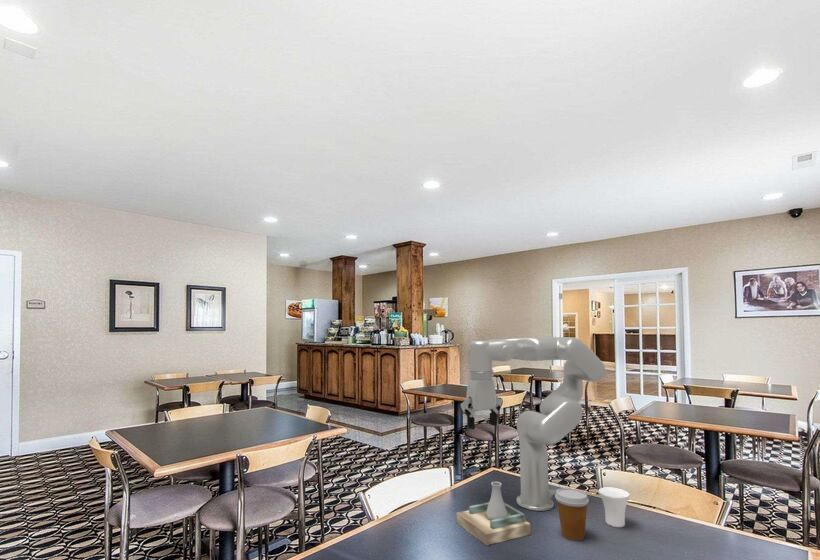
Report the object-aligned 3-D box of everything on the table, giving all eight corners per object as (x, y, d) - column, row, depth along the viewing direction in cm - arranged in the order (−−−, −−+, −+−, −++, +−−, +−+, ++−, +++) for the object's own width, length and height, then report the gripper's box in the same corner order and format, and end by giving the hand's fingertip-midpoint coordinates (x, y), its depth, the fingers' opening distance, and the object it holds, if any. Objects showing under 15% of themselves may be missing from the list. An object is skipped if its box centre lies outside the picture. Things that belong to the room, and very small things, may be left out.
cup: (596, 516, 140) (594, 484, 142) (626, 519, 139) (625, 487, 140) (602, 529, 132) (600, 494, 133) (635, 532, 130) (633, 497, 131)
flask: (509, 523, 129) (508, 488, 130) (484, 520, 130) (484, 486, 131) (508, 513, 136) (507, 480, 137) (485, 511, 137) (484, 478, 138)
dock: (497, 513, 142) (497, 497, 143) (530, 534, 128) (530, 516, 129) (456, 522, 136) (456, 506, 136) (486, 545, 121) (486, 526, 122)
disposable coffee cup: (574, 546, 121) (572, 501, 123) (549, 532, 129) (548, 490, 131) (597, 539, 125) (595, 496, 127) (571, 525, 134) (570, 485, 135)
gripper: (493, 374, 157) (495, 422, 155) (454, 376, 148) (455, 427, 146) (507, 375, 150) (509, 426, 148) (467, 378, 142) (468, 432, 140)
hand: (482, 426), depth 147 cm, fingers open, 9 cm apart
